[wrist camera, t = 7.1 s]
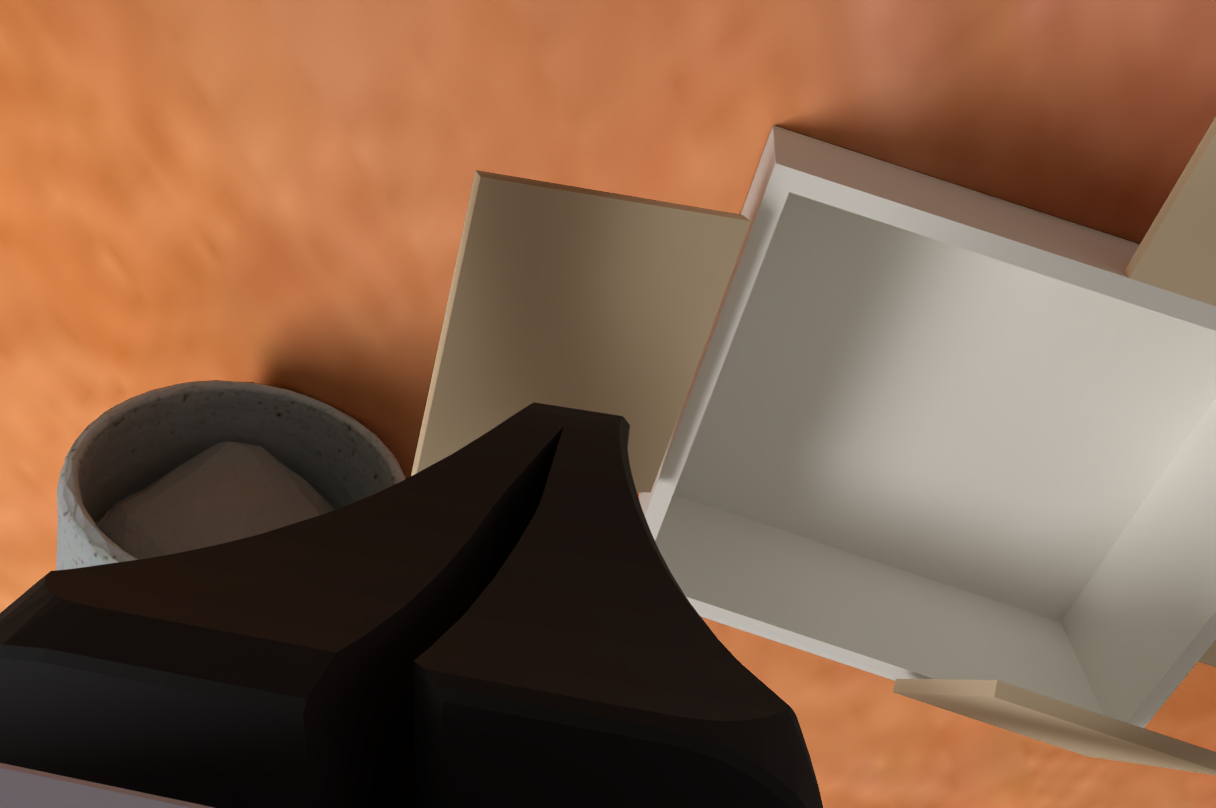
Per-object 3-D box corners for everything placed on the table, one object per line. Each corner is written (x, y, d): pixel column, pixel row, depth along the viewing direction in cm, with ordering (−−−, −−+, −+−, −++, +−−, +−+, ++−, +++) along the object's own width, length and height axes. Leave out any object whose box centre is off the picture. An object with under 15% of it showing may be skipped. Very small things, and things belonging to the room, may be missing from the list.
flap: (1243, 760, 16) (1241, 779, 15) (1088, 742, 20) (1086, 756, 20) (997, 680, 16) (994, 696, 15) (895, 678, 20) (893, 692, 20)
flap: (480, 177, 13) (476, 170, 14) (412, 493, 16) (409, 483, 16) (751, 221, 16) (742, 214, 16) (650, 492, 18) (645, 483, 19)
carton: (1674, 148, 17) (1937, 200, 13) (1223, 682, 24) (1311, 818, 20) (859, -115, 17) (887, -138, 13) (640, 490, 24) (617, 588, 20)
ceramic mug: (155, 562, 28) (-34, 757, 21) (190, 343, 24) (-27, 493, 17) (469, 684, 28) (382, 911, 22) (551, 487, 25) (478, 688, 18)
